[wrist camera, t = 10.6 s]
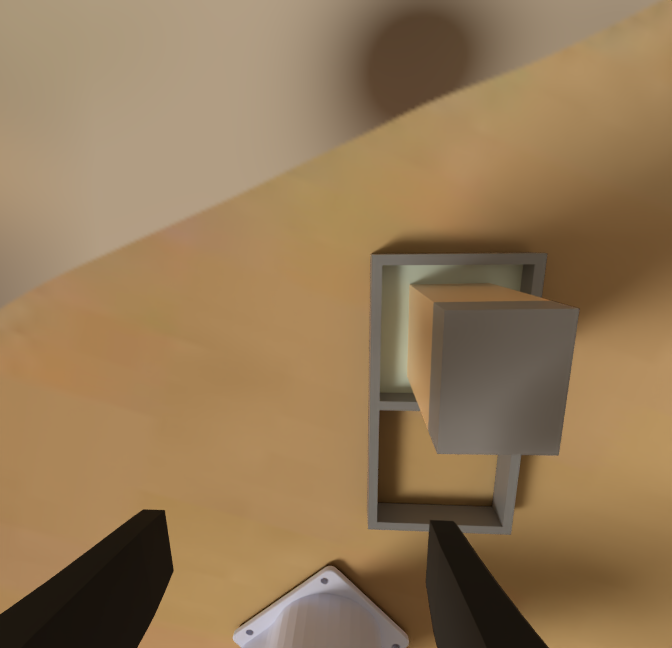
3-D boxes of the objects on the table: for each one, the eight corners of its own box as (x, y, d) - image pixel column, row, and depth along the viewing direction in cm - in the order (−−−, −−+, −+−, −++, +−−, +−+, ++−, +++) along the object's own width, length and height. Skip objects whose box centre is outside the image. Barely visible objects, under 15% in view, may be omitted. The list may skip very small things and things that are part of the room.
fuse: (482, 376, 18) (558, 455, 11) (407, 376, 18) (437, 453, 12) (489, 283, 17) (579, 308, 10) (409, 284, 17) (444, 310, 10)
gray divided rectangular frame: (499, 513, 20) (510, 534, 19) (367, 509, 21) (368, 529, 19) (531, 252, 17) (547, 253, 15) (370, 253, 17) (372, 254, 16)
